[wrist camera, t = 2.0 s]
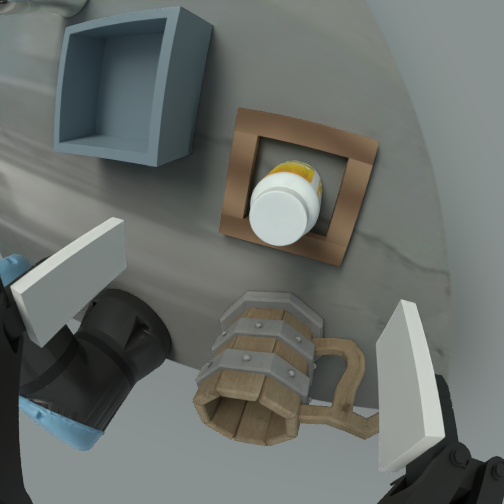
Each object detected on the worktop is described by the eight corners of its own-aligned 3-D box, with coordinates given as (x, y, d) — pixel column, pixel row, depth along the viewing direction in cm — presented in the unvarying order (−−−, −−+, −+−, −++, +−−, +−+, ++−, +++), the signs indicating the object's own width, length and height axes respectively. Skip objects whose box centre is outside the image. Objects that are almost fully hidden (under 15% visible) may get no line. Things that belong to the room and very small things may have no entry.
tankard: (234, 359, 41) (197, 445, 28) (218, 288, 36) (162, 379, 23) (373, 368, 36) (373, 464, 23) (387, 292, 31) (405, 402, 18)
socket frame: (339, 261, 30) (339, 266, 29) (222, 228, 32) (218, 233, 31) (377, 140, 24) (379, 142, 23) (241, 108, 26) (238, 108, 25)
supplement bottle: (332, 196, 28) (332, 235, 19) (286, 221, 30) (267, 267, 22) (302, 148, 26) (289, 165, 18) (257, 177, 29) (224, 207, 20)
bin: (192, 153, 29) (156, 167, 23) (94, 140, 31) (53, 151, 25) (213, 25, 22) (180, 6, 16) (107, 33, 24) (65, 27, 18)
